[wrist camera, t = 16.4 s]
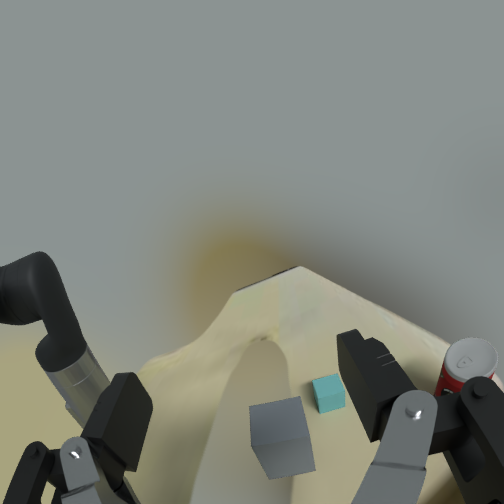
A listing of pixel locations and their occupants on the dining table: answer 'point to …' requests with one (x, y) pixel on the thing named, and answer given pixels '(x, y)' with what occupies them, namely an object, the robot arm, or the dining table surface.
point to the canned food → (466, 364)
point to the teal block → (329, 393)
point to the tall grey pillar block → (281, 438)
